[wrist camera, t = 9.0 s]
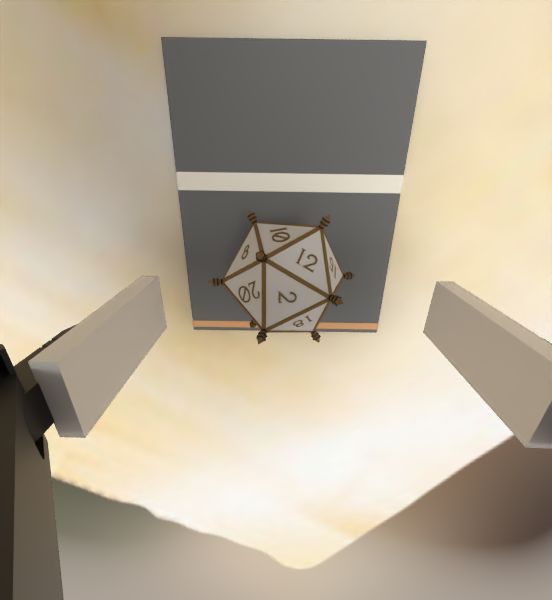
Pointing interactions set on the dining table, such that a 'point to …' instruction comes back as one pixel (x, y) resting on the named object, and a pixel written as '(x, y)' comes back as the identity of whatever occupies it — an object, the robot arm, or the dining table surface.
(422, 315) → the dining table surface
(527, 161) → the dining table surface
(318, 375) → the dining table surface
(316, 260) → the game die
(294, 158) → the lane mat
